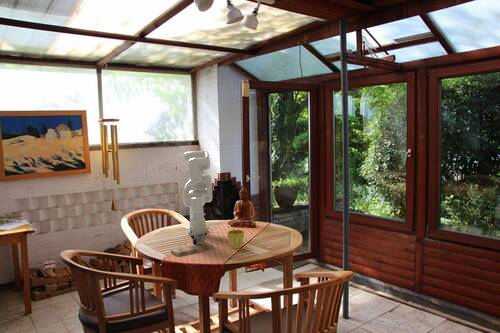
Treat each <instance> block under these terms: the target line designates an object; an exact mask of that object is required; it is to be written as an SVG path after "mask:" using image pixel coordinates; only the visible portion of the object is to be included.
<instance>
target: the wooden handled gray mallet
mask: <svg viewBox="0 0 500 333" xmlns="http://www.w3.org/2000/svg"><path fill="white" fill-rule="evenodd" d="M196 244H203V245H206V246H207V245H209V244H210V243H209V242H207V241H205V242H204V235H202V234H198V235H196Z"/></svg>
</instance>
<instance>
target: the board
mask: <svg viewBox="0 0 500 333" xmlns="http://www.w3.org/2000/svg"><path fill="white" fill-rule="evenodd" d="M213 249H214V245H213V244H210V243H209V245H207V246H206V245H203V244H197V245H188V246H183V247H178V248H174V249H171V250H170V254H172V255H174V256H176V257H182V256H186V255H190V254H195V253H200V252H205V251H208V250H213Z"/></svg>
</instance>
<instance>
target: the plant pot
mask: <svg viewBox="0 0 500 333" xmlns="http://www.w3.org/2000/svg"><path fill="white" fill-rule="evenodd" d="M244 237H245V231H244V230H242V229H232V230H229V231H227V238H228V240H229V244H230V248H231V249H240V248H242V246H243V241H244Z"/></svg>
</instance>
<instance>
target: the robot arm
mask: <svg viewBox="0 0 500 333" xmlns="http://www.w3.org/2000/svg"><path fill="white" fill-rule="evenodd" d="M210 158H211V157H210V154H209V152H208V151H207V150H192V151H191V150H190V151H186V152H184V154H183V159H184V162H185V165H186V167H187V169H188V170H187V171H188V181H187V183H185V185H184V187H183V191H182V200H183V201H182V203H183V206H185V207H187V208H189V231H188V234H187V236H188V237H190V239H192V244H193V245H197V244H196V235H198V234H202V235H204V242H206V240H205V239H206V236H207V234H208V233H209V232H210V231H209V230H210V226H209V225H208V226H207V223H206V218H205V216H206V213H205V212H204V205H205V204H206V203H211V202H212V201H213V184H212V177H211V175H210V174H207V173H205V174H202V170H203V171H205V170H209V169H210V168H211V159H210ZM190 188H192V190H189V189H190ZM199 188H200V189H199ZM201 188H204V189H201Z"/></svg>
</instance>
